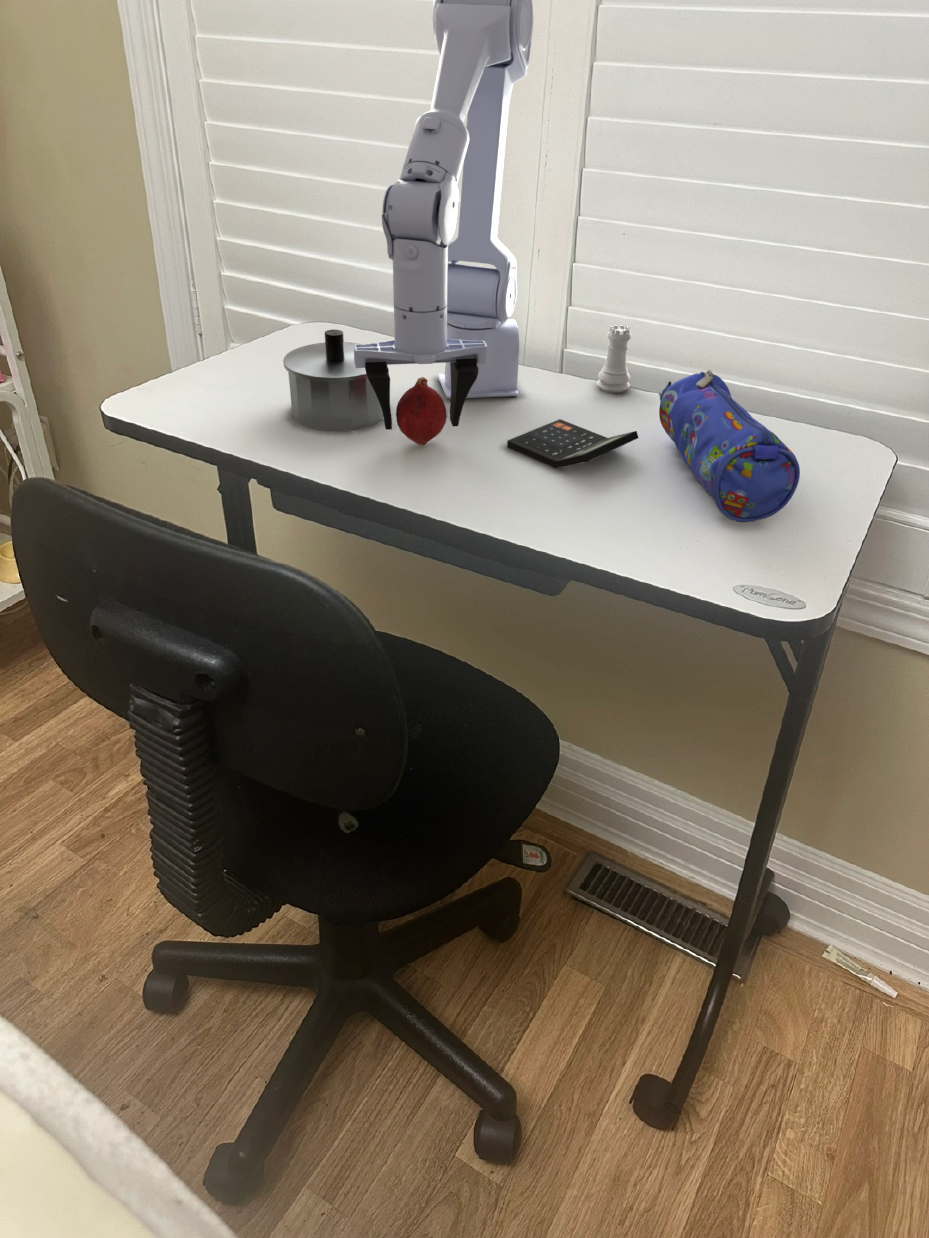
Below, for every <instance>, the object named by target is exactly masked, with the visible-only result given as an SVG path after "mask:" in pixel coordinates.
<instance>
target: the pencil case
mask: <svg viewBox="0 0 929 1238" xmlns="http://www.w3.org/2000/svg"><path fill="white" fill-rule="evenodd" d="M658 396H659V400H660V403H659V409H658V415H659V422H660V424H661V427H662V429H663V430H664V431H665V434H666V435H667V436H668V437H669V439H670V440H671V441H672V442H673V443H674V445H675V448H676V449H677V451H678V452H679V455H680V456H681V458H682V460H683V462H684V463H685V465H686V467H687V468H688V469H689V471H690V472H691V473H692V475H693V476H694V478H695V479H696V481H697V482H698V483H699V484H700V485H701V487H702V488H703V489H704V490H705V491H706V493H707V494H708V495H709V496H710V497H711V498H712V499H713V500H714V503H715V505H716V507H717V509H718V510H719V512H720V513H721V514H722V515H723V517H726V518H727V519H729V520H731V521H735V522H737V523H750V522H755V521H761V520H764V519H767V518H770V517H772V516H774V515H776V514H777V513H778V512H780V511H781V510H783V508H785V507H786V506H787V504H788V503H789V502H790V501H791V499H792V498H793V496H794V494H795V492H796V490H797V488H798V484H799V482H800V477H801V468H800V464H799V461H798V460H797V457H796V455H795V454H794V452H793V451H792V450H791V449H790V448H789V447H788V446H787V445H786V444H785V443H784V442H783V441H782V440H781V439H780V438H779V437H778V436H777V434H775V433H774V432H773V431H771V430H770V429H768V428H767V427H766V426H765V425H764V424H762V423H761V422H759V421H758V420H757V419H755V418H754V417H753V416H752V415H751V414H750V413H749V412H748V411H747V409H745V408H744V407H743V406H741V405H740V404H739V403H738V402H737V401H736V400H735V399H733V398H732V394H731V392H730V389H729V386H728V385H727V384H726V382H725V381H724V380H723V379H722V378H721V377H720V376H718V375H717V374H714V373H713V372H712V370H711V369H708V370H706V371H705V372H704V371H700V372H699V373H697V372H696V373H693V374H690V375H688V376H686V377H683V378H681V379H678V380H677V381H674V382H673V383H672V381H671V380H670V381H668V382H667V384H666V385H665V387H664V388H663V389H661V390H660V392H659V393H658Z"/></svg>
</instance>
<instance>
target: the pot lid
mask: <svg viewBox="0 0 929 1238" xmlns="http://www.w3.org/2000/svg"><path fill="white" fill-rule="evenodd" d="M362 344H363V343H358V342H349V341H345V337H344V331H343V330H340V329H335V328H334V329H328V330H325V331H324V342H317V343H311V344H307V345H303V346H300V347H297V348H295V349H293V350H291V351H289V352H288V353H286V354H285V356H284V357H283V360H282V362H283V368H284V369H285V370H286V371H287V372H289V373H291V374H293V375H295V376H298V377H301V378H305V379H309V380H316V381H331V382H332V381H350V380H356V379H361V378H366V377H367V374H366V370H365V368H356V367H355V362H354V345H362Z"/></svg>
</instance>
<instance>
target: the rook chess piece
mask: <svg viewBox="0 0 929 1238" xmlns="http://www.w3.org/2000/svg"><path fill="white" fill-rule="evenodd" d="M619 326H620V327H619V328H618V324H613V325H610V328H609V331H608V332H607V333H606V336H607V338H608V340H609V341H608V344H607V345H606V346H607V355H606V359H605V363H604V365H603V366H602V368H601V371H599V373H598V374H597V377H598V380H597V381H596V384H597V387H598V388H599V389H600V390H601V391H604V392H607V393H617V394H618V393H623V392H625V391H627V390H628V389H629V388H630V386H631V383H630V381H631V375H630V373H629V369H628V367H627V354H628V353H627V352H628V349H629V348H630V347H629V345H628V343H629V341H630V340H631V338H632V337H633V336H632V333H631V328H630V326H628V325H627V326H625V325H624V324H620V325H619Z"/></svg>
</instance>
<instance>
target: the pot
mask: <svg viewBox="0 0 929 1238" xmlns="http://www.w3.org/2000/svg"><path fill="white" fill-rule="evenodd" d="M287 372H288V371H287ZM288 383H289V392H290V395H289V396H290V404H291V405H290V406H291V415H292V418H293V420H294V421H295V422H296V423H297V424H298V425H300V426H303V427H305V428H306V429H307V428H308V429H310V430H314V431H321V432H333V433H339V432H341V433H342V432H351V431H357V430H362V429H366V428H370V427H371V426H373V425H376V424H378V423H379V422H380V421H382V419H384V417H383V412H382V409H381V406H380V403H379V400H378V398H377V396H376V394H375V391H374V389H373V387H372V386H371V384H370V382H369V380H368V377H366V378H361V379H356V380H350V381H332V382H331V381H316V380H309V379H305V378H301V377H298V376H295V375H293V374H291V373H289V372H288Z"/></svg>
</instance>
